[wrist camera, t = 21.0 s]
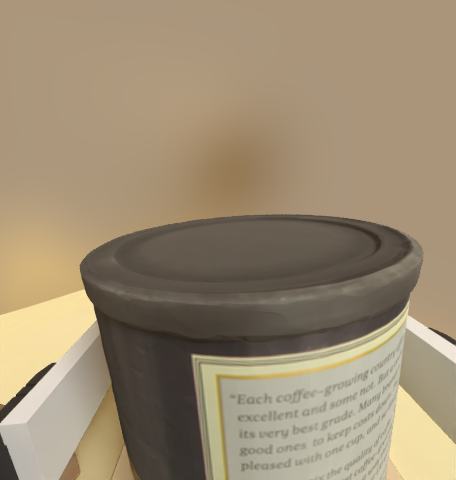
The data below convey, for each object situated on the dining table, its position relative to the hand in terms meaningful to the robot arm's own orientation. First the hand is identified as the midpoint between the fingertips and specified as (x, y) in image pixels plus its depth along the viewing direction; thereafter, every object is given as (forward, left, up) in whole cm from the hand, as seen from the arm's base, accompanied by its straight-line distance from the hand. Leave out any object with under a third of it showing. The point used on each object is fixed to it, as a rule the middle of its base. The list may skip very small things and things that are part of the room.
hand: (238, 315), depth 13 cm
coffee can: (0, -3, -9) cm, 9 cm away
